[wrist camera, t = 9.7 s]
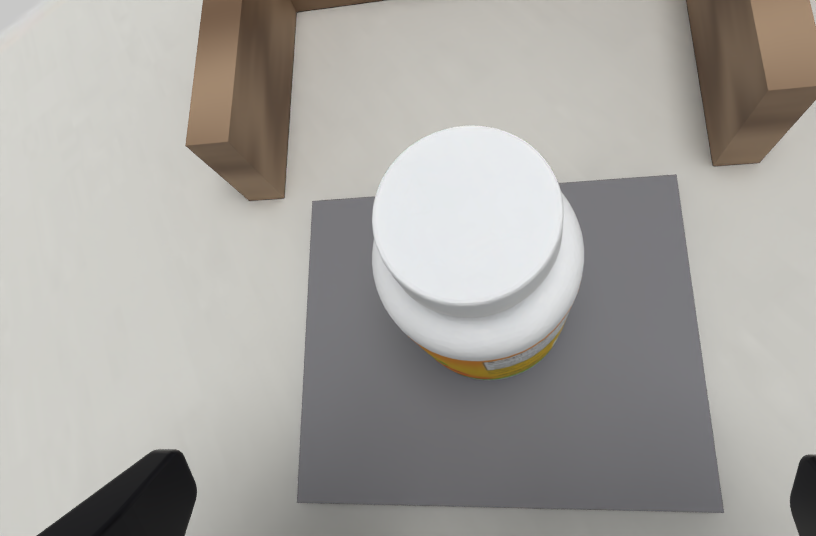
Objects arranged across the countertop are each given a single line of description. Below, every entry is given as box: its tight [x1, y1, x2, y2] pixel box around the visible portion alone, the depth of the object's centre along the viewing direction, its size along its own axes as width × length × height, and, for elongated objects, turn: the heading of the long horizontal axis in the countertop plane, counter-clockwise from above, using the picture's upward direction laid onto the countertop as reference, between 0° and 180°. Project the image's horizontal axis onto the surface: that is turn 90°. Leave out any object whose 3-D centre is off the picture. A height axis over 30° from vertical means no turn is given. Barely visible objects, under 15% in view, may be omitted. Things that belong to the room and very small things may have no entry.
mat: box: [297, 175, 724, 513], centre depth 21 cm, size 12×14×1 cm
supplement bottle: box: [372, 125, 584, 380], centre depth 16 cm, size 5×5×10 cm
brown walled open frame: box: [186, 0, 816, 201], centre depth 22 cm, size 11×20×6 cm, turn 90°
